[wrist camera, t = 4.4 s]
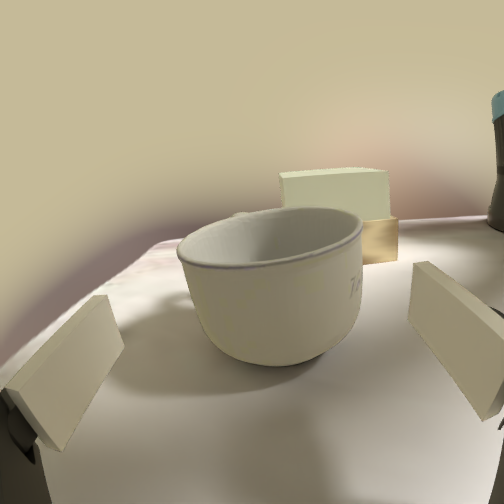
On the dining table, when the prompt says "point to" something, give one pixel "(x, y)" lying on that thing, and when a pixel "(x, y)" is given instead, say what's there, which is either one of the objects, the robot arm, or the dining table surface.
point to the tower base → (380, 241)
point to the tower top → (339, 190)
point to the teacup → (276, 281)
